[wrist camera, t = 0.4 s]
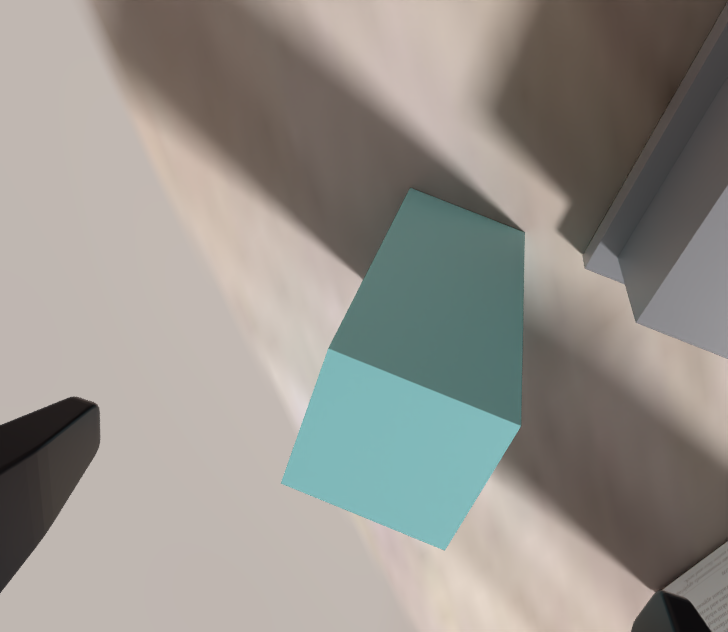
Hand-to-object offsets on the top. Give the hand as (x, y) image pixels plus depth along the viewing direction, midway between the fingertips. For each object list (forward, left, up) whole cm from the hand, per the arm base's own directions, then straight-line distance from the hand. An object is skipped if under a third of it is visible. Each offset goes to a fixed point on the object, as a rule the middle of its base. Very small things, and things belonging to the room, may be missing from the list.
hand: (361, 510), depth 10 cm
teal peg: (0, +2, -13) cm, 13 cm away
